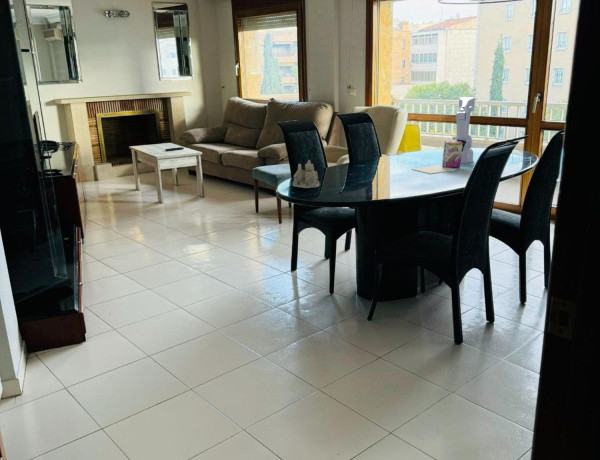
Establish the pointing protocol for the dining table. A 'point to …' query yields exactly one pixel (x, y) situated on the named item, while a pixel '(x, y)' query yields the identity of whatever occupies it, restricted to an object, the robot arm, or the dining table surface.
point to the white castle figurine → (306, 176)
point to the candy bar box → (452, 154)
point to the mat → (433, 169)
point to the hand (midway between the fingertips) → (460, 151)
